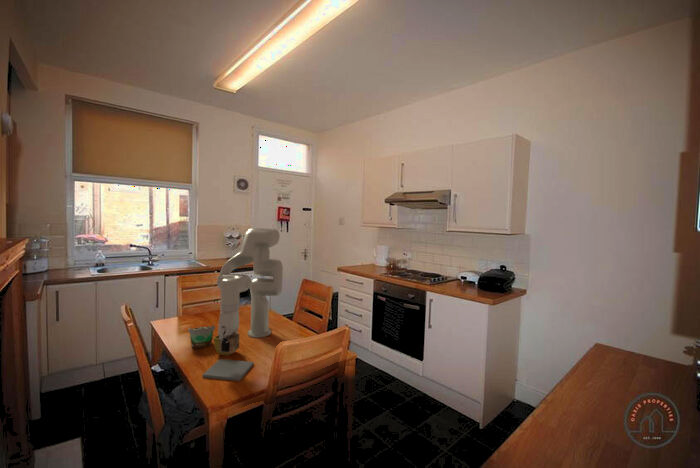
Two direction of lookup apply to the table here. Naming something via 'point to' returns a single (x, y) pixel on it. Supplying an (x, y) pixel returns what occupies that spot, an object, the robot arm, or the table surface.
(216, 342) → the flower pot
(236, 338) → the walnut cube
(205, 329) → the food container
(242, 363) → the slate board
